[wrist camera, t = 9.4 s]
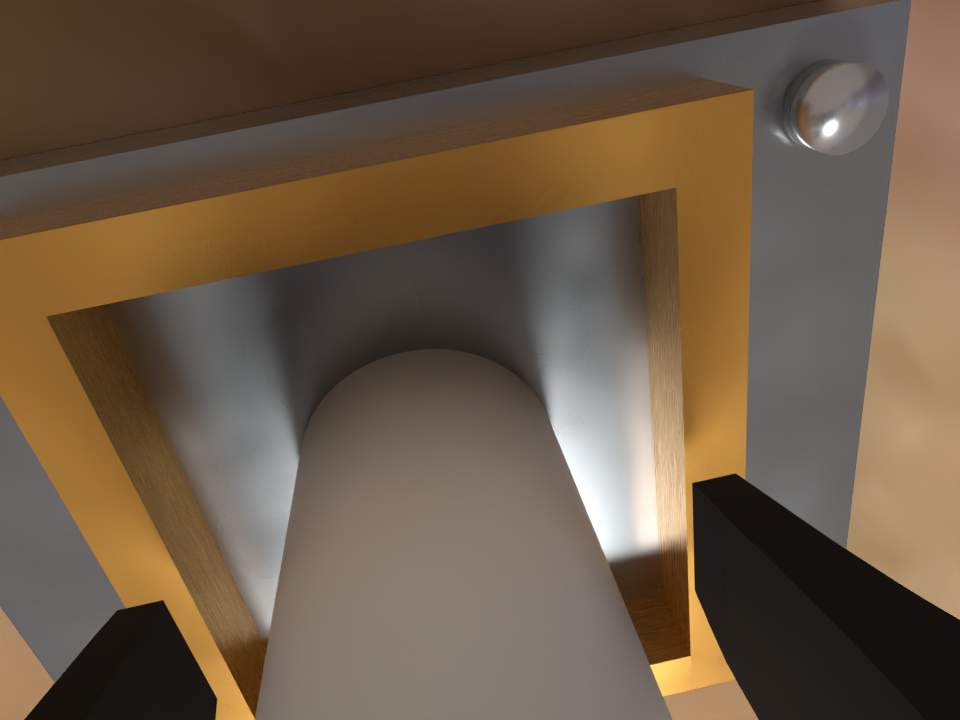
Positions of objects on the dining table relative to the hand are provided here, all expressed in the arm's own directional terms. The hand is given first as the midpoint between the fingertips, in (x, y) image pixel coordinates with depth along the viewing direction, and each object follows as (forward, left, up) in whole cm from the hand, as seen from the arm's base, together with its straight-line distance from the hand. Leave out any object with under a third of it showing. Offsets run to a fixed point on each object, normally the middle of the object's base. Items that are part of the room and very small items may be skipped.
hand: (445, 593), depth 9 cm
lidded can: (0, 0, -3) cm, 3 cm away
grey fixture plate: (0, 0, -5) cm, 5 cm away
